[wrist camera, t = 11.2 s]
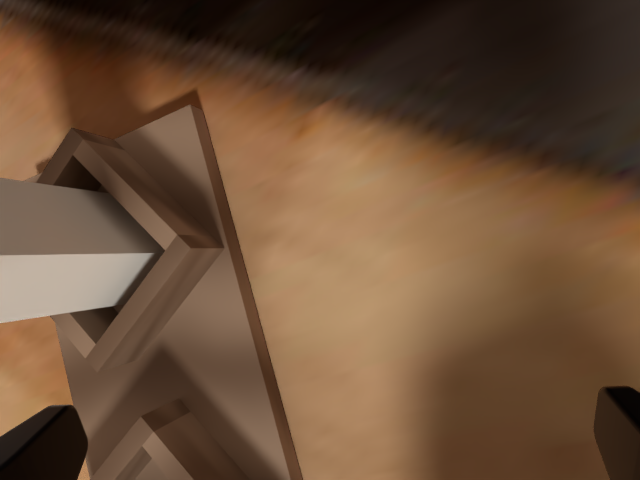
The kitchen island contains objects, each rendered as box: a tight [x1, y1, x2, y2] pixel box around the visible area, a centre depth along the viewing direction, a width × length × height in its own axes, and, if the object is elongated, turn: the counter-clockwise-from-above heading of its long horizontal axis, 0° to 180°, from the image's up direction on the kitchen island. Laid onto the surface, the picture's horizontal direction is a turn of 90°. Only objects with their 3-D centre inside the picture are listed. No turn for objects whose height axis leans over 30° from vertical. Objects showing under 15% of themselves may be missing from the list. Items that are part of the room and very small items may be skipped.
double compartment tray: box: [25, 105, 303, 480], centre depth 22 cm, size 22×10×4 cm, turn 17°
